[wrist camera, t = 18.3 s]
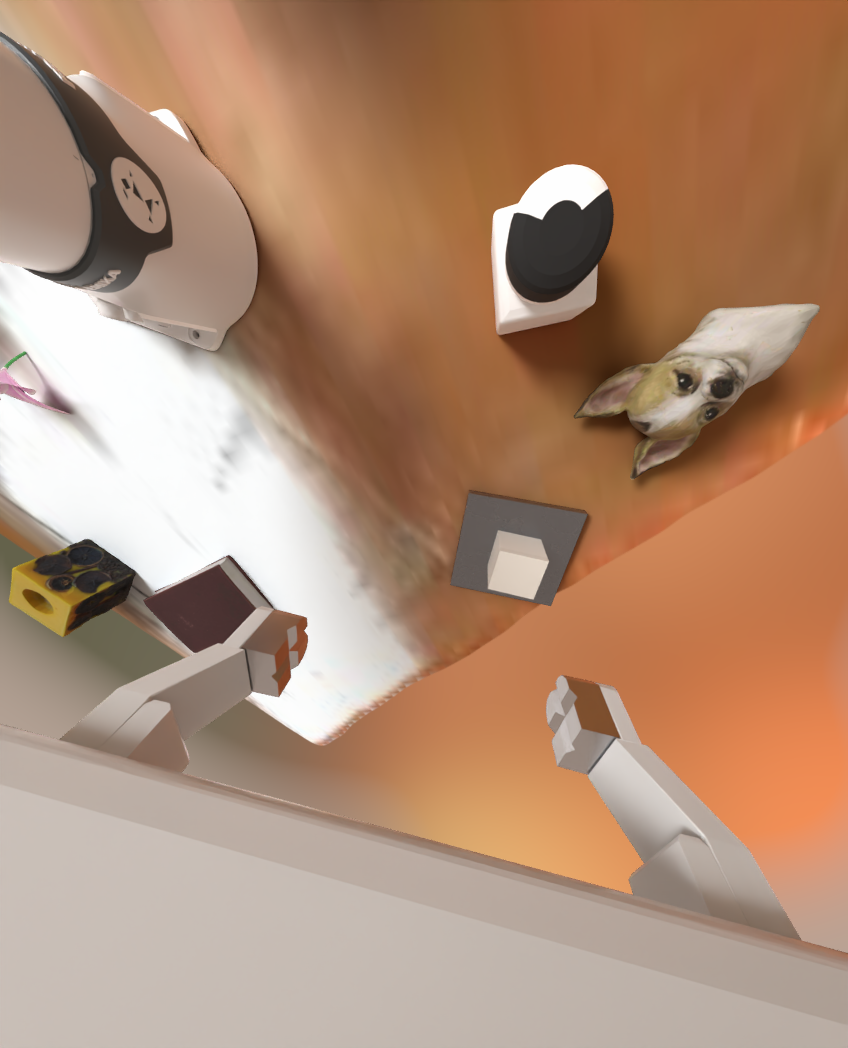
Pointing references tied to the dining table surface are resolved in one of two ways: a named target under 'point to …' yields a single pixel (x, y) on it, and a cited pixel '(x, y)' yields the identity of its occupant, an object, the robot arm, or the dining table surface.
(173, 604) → the book
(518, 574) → the cream rectangular prism
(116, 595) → the yellow holed cube
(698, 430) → the ceramic sculpture
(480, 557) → the post plate
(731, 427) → the dining table surface
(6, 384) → the lily
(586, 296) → the medicine bottle
